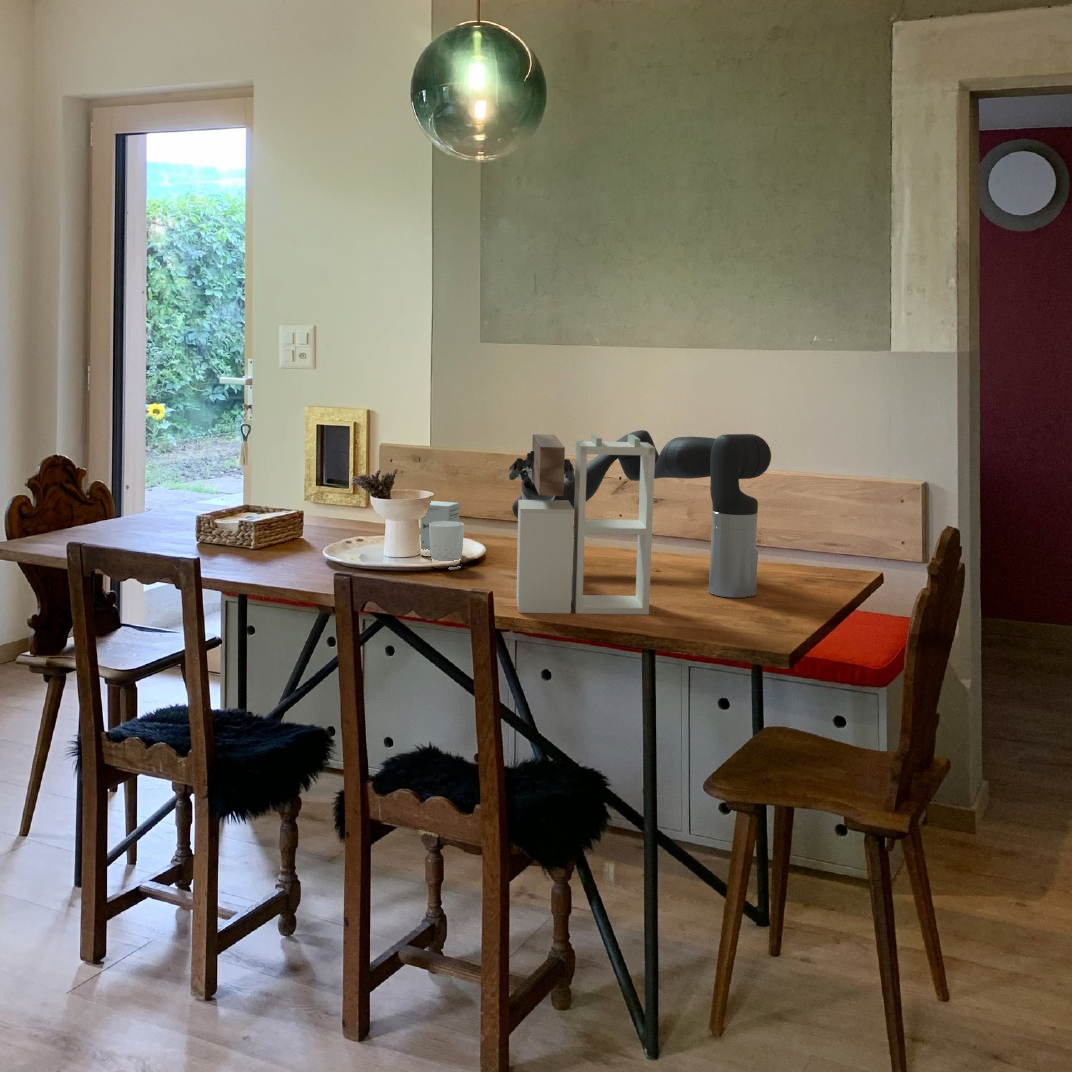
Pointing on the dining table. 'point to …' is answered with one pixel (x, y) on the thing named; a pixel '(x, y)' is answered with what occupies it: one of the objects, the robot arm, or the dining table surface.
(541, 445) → the walnut block
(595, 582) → the dining table surface
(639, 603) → the step shelf
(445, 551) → the pale blue cup
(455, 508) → the supplement box
